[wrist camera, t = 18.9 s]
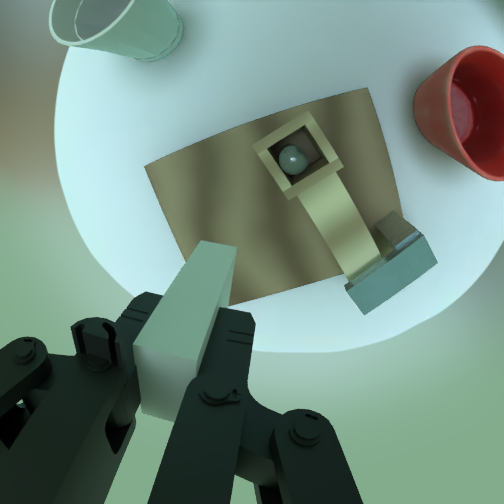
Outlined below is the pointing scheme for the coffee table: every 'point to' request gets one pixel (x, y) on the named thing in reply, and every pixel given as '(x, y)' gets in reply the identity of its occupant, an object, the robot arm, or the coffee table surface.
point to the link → (323, 197)
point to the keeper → (392, 264)
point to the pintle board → (274, 195)
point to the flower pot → (466, 110)
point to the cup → (118, 26)
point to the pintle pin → (292, 159)
